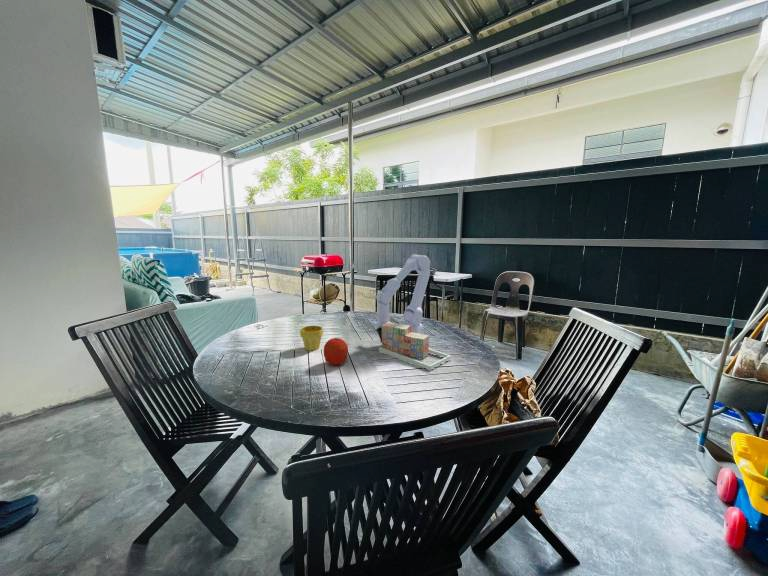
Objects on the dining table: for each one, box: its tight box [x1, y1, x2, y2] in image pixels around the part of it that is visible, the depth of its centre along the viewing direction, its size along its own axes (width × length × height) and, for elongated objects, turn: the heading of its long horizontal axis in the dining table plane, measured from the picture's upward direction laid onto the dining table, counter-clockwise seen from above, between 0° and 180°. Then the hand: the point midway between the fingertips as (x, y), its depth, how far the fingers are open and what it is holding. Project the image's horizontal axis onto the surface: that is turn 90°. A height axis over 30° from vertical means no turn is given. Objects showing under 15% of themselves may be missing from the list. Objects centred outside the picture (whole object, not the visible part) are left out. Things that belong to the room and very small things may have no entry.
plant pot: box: [299, 324, 324, 352], centre depth 146 cm, size 10×10×10 cm
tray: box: [378, 346, 452, 371], centre depth 139 cm, size 16×29×2 cm, turn 47°
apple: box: [323, 337, 349, 366], centre depth 129 cm, size 10×10×12 cm
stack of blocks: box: [381, 321, 430, 360], centre depth 142 cm, size 21×6×12 cm, turn 58°
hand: (383, 342), depth 152 cm, fingers closed
